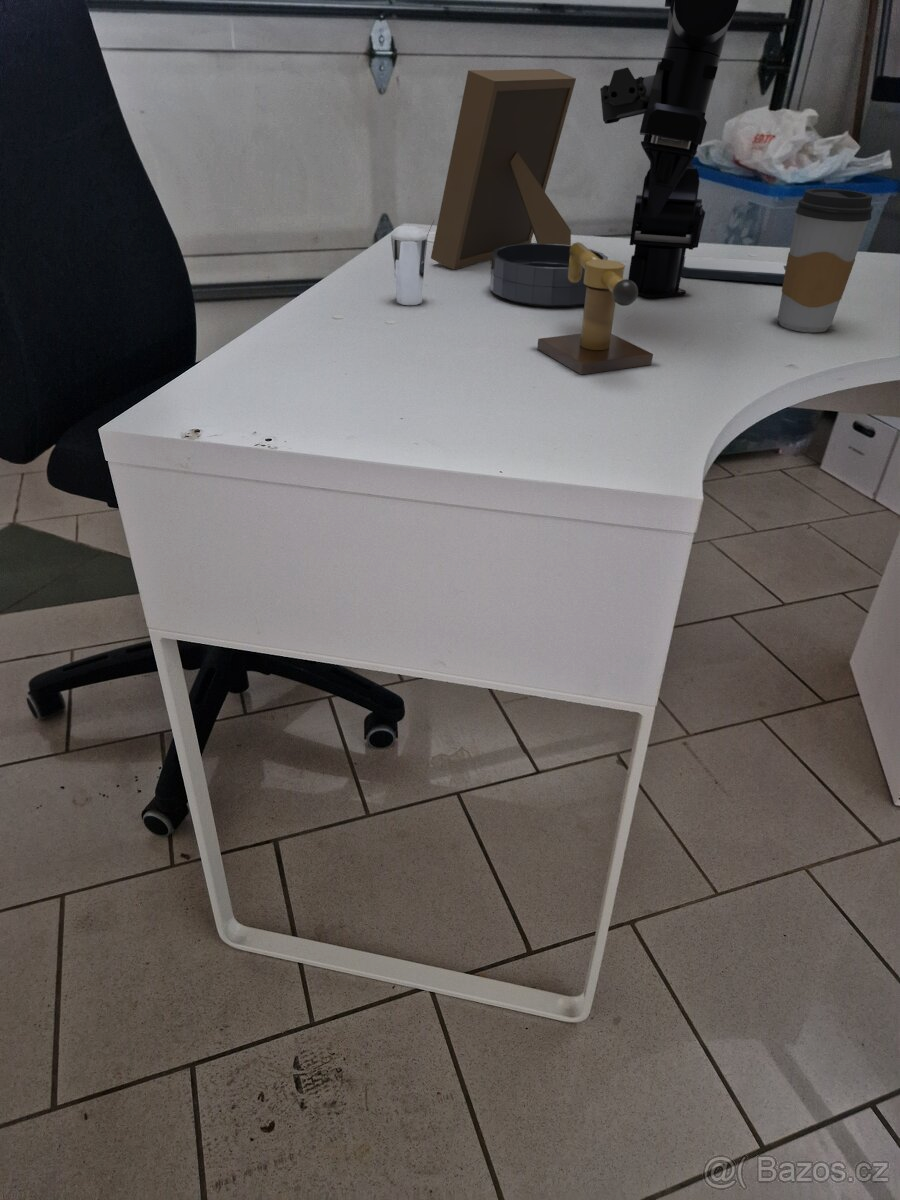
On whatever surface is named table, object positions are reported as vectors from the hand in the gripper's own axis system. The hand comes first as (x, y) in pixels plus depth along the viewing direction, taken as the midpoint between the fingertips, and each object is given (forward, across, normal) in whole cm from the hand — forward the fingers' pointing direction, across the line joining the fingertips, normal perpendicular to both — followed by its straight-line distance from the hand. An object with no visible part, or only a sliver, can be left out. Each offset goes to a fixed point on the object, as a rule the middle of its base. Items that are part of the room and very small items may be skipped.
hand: (651, 217), depth 93 cm
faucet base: (+14, +10, -2) cm, 18 cm away
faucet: (+9, +10, -3) cm, 14 cm away
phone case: (+6, -35, +14) cm, 38 cm away
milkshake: (+15, -4, -27) cm, 31 cm away
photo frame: (+10, -32, -20) cm, 39 cm away
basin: (+12, -14, -11) cm, 22 cm away
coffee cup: (+9, -10, +22) cm, 26 cm away
